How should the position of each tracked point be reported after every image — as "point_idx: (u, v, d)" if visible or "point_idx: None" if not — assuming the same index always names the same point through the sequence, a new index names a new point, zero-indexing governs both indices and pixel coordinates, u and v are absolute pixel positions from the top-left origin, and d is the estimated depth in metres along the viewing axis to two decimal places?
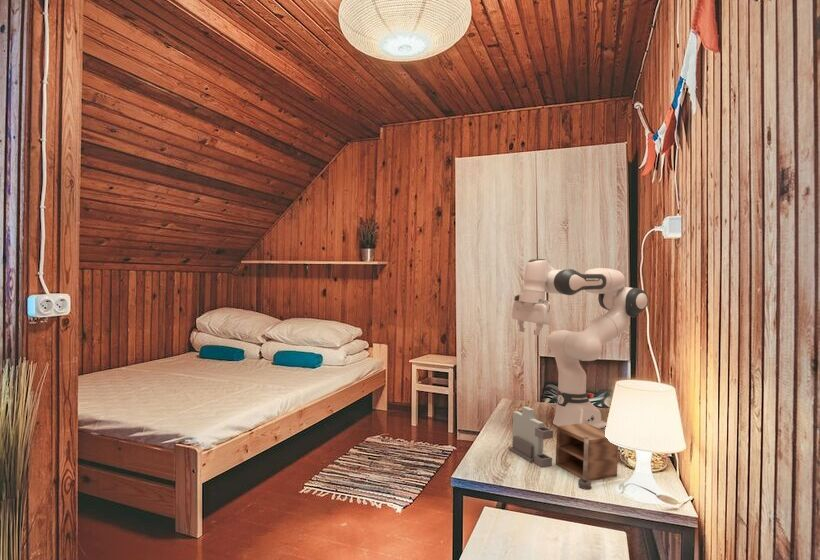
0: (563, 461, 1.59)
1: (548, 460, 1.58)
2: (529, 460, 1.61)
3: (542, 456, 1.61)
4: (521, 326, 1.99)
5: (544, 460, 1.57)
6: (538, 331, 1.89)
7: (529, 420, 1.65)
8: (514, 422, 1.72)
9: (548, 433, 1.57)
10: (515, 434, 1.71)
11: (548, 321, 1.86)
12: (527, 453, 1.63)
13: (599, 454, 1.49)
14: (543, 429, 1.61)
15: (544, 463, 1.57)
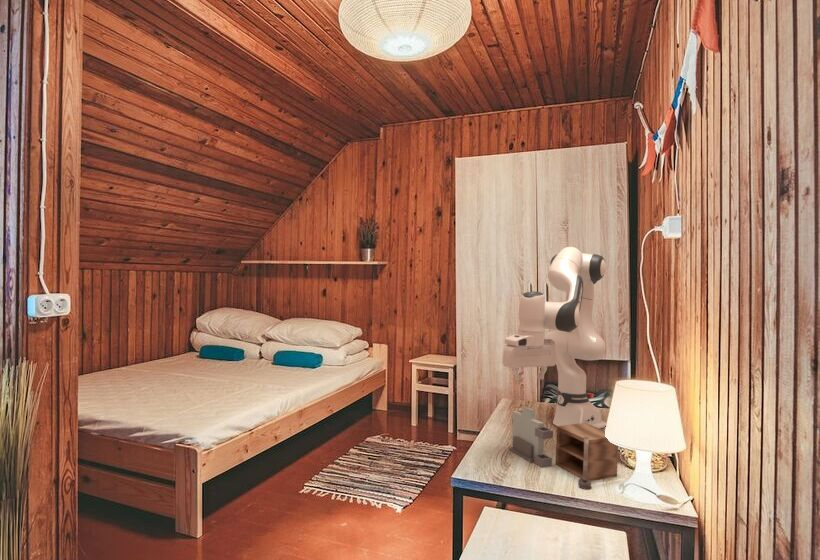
0: (563, 461, 1.59)
1: (548, 460, 1.58)
2: (529, 460, 1.61)
3: (542, 456, 1.61)
4: None
5: (544, 460, 1.57)
6: None
7: (529, 420, 1.65)
8: (514, 422, 1.72)
9: (548, 433, 1.57)
10: (515, 434, 1.71)
11: None
12: (527, 453, 1.63)
13: (599, 454, 1.49)
14: (543, 429, 1.61)
15: (544, 463, 1.57)
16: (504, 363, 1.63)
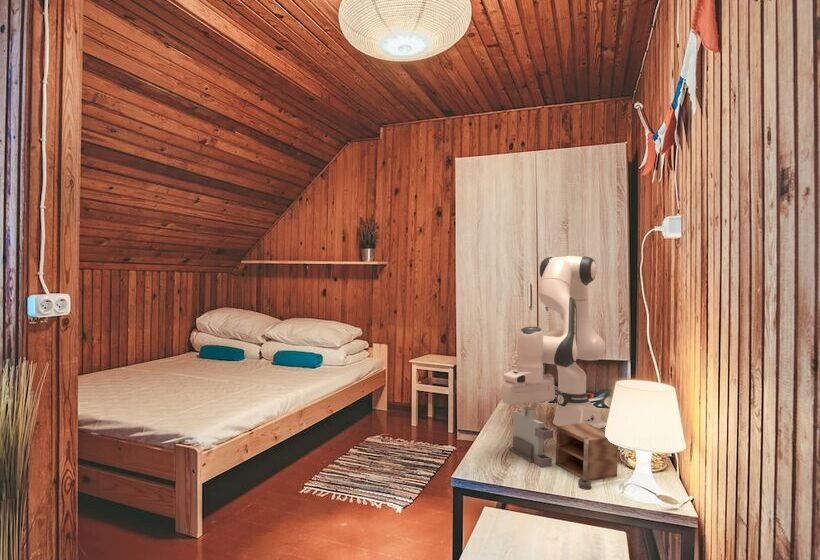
0: (563, 461, 1.59)
1: (548, 460, 1.58)
2: (529, 460, 1.61)
3: (542, 456, 1.61)
4: None
5: (544, 460, 1.57)
6: None
7: (529, 420, 1.65)
8: (514, 422, 1.72)
9: (548, 433, 1.57)
10: (515, 434, 1.71)
11: None
12: (527, 453, 1.63)
13: (599, 454, 1.49)
14: (543, 429, 1.61)
15: (544, 463, 1.57)
16: (502, 399, 1.64)
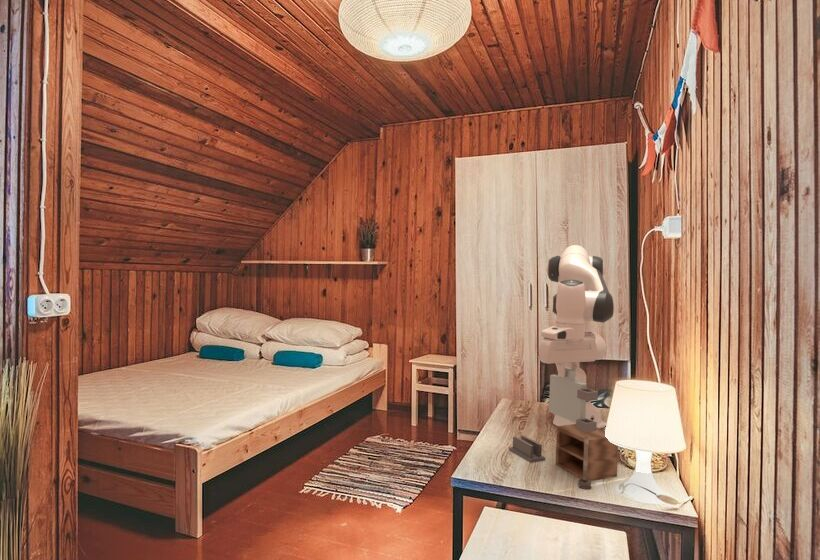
0: (563, 461, 1.59)
1: (592, 424, 1.43)
2: (529, 460, 1.61)
3: (585, 421, 1.46)
4: None
5: (588, 424, 1.42)
6: None
7: (570, 382, 1.50)
8: (552, 386, 1.57)
9: (593, 394, 1.42)
10: (552, 399, 1.56)
11: None
12: (527, 453, 1.63)
13: (599, 454, 1.49)
14: (586, 391, 1.46)
15: (588, 427, 1.42)
16: (540, 358, 1.49)
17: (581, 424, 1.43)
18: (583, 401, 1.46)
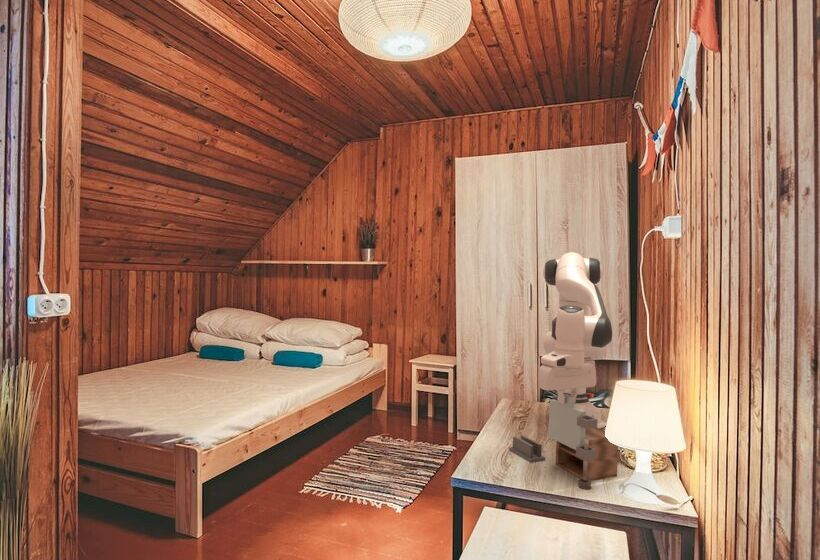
0: (563, 461, 1.59)
1: (592, 452, 1.43)
2: (529, 460, 1.61)
3: None
4: None
5: (588, 452, 1.42)
6: None
7: (569, 408, 1.50)
8: (551, 411, 1.57)
9: (592, 422, 1.42)
10: (552, 424, 1.57)
11: None
12: (527, 453, 1.63)
13: (599, 454, 1.49)
14: (586, 418, 1.46)
15: (588, 455, 1.42)
16: (540, 385, 1.49)
17: (581, 452, 1.43)
18: (583, 428, 1.46)
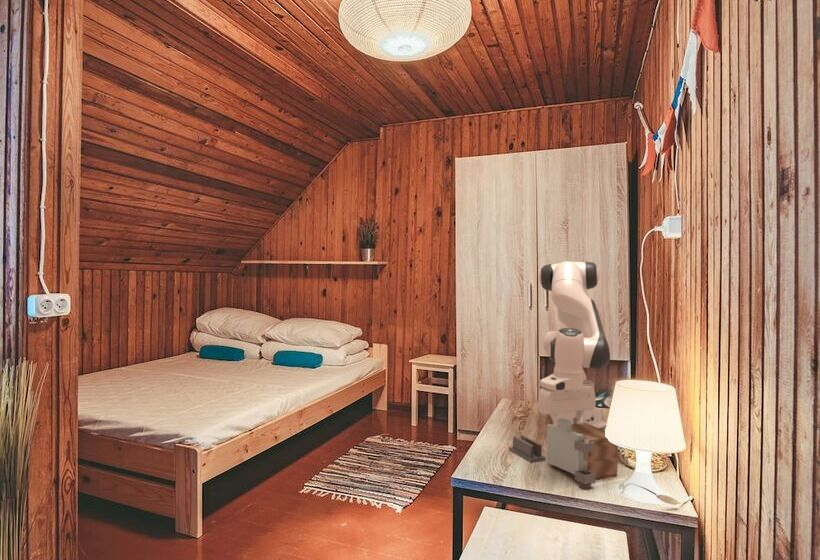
0: None
1: (591, 476, 1.43)
2: (529, 460, 1.61)
3: None
4: None
5: (587, 476, 1.43)
6: None
7: (566, 433, 1.51)
8: (549, 436, 1.58)
9: (589, 446, 1.43)
10: (550, 449, 1.57)
11: None
12: (527, 453, 1.63)
13: (599, 454, 1.49)
14: (583, 442, 1.47)
15: (587, 479, 1.42)
16: (539, 408, 1.49)
17: (579, 476, 1.44)
18: (580, 452, 1.46)
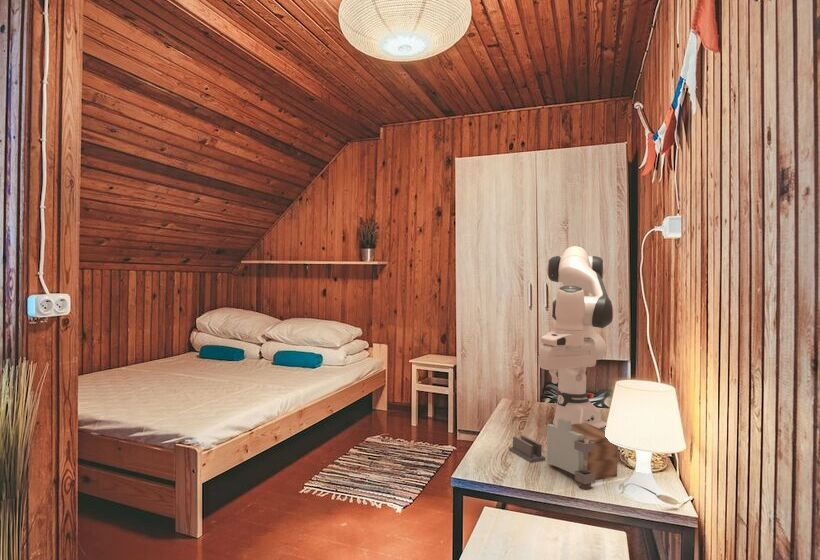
0: None
1: (591, 476, 1.43)
2: (529, 460, 1.61)
3: None
4: None
5: (587, 476, 1.43)
6: None
7: (566, 433, 1.51)
8: (549, 436, 1.58)
9: (589, 446, 1.43)
10: (550, 449, 1.57)
11: None
12: (527, 453, 1.63)
13: (599, 454, 1.49)
14: (583, 442, 1.47)
15: (587, 479, 1.42)
16: (540, 364, 1.49)
17: (579, 476, 1.44)
18: (580, 452, 1.46)
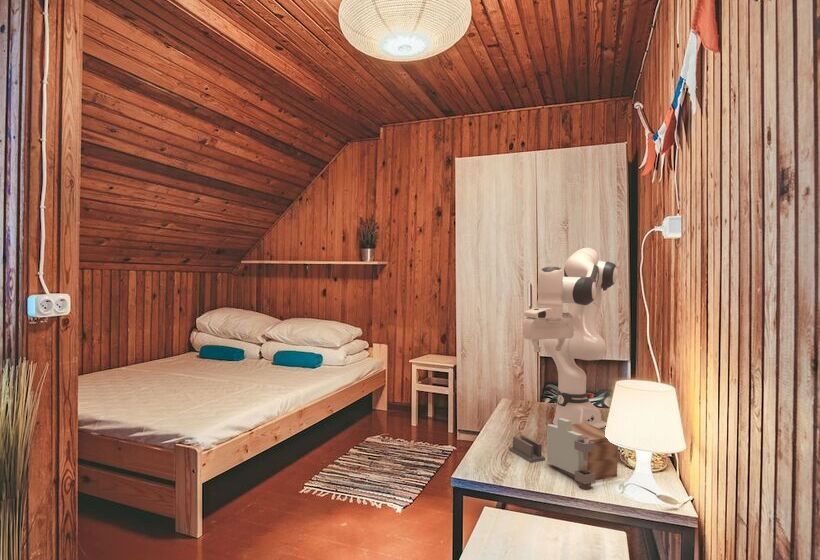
0: None
1: (591, 476, 1.43)
2: (529, 460, 1.61)
3: None
4: None
5: (587, 476, 1.43)
6: None
7: (566, 433, 1.51)
8: (549, 436, 1.58)
9: (589, 446, 1.43)
10: (550, 449, 1.57)
11: None
12: (527, 453, 1.63)
13: (599, 454, 1.49)
14: (583, 442, 1.47)
15: (587, 479, 1.42)
16: (524, 335, 1.70)
17: (579, 476, 1.44)
18: (580, 452, 1.46)
